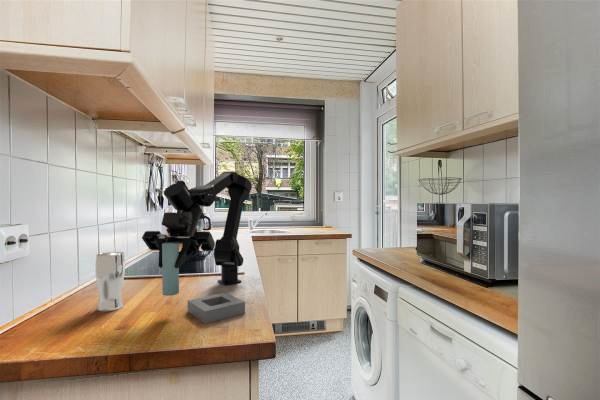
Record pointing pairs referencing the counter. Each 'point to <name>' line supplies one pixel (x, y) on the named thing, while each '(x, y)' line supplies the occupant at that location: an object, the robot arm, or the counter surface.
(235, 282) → the robot arm
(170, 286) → the peg
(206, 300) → the socket block
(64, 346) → the counter surface
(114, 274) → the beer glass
